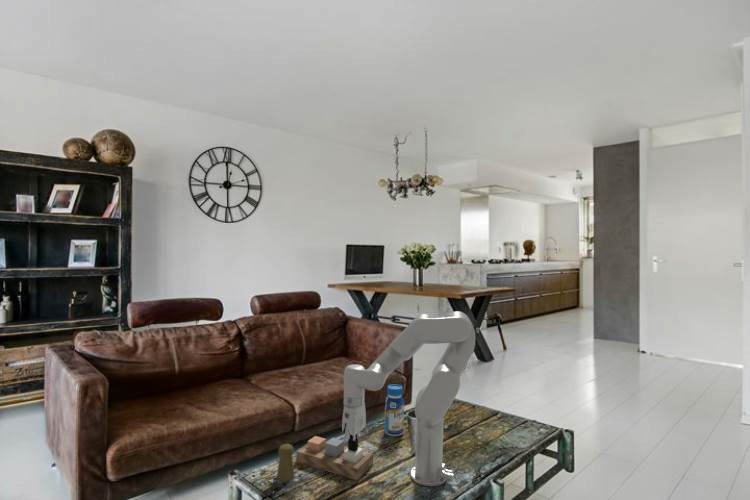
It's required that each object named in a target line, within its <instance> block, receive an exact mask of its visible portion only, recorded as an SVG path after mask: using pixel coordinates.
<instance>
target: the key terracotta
mask: <svg viewBox="0 0 750 500" xmlns="http://www.w3.org/2000/svg"><path fill="white" fill-rule="evenodd" d="M326 441H327V439H326V437H325V438H324V437H320V436H317V435H314V436H313V437H312V438H310V439H308V440H307V443H308V450H311V451H315V452H318V453H319V452H321V451H322V450H323V449H324V448H325V443H326Z"/></svg>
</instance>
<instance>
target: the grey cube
mask: <svg viewBox="0 0 750 500" xmlns="http://www.w3.org/2000/svg"><path fill="white" fill-rule="evenodd" d="M344 446H345V439H344V440H343V439H341V438H336V437H331V438H330V439H329V440H328V442H326V443H325V455H328V456H332V457H335V458H338V457H339V456H340V455H341V454H343V453H344Z"/></svg>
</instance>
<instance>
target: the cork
mask: <svg viewBox="0 0 750 500" xmlns="http://www.w3.org/2000/svg"><path fill="white" fill-rule="evenodd" d="M277 452H278V456H279V460H278V469H277V475H276V479H277V480H278V481H279V482H281V483H282V482H283V483H287V482H291V481H292V480H294V478H295V471H294V470H295V469H294V461H293V454H294V446H293V445H292V444H289V443H284V444H281V445H280V446H279V448H278V451H277Z"/></svg>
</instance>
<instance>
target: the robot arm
mask: <svg viewBox="0 0 750 500" xmlns="http://www.w3.org/2000/svg"><path fill="white" fill-rule="evenodd" d="M425 344H426V345H429V344H430V345H431V344H432V345H433V344H434V345H436V344H447V347H446V348H445V351H444V353H443V354H442V356H441V358H440V359H439V361H438V362H437V364H436V365H435V367H434V368H433V370H432V373H431V378H430V380H429V382H428V384H427V386H424V387H422V388H421V389H420V390H419V391H418V392H417V395H416V399H415V404H414V414H415V419H416V420H415V456H414V457H415V463H414V465H415V466H414V467H413V468H411V470H410V478H411V479H412V481H414V482H415V483H417V484H419V485H422V486H426V487H436V486H441V485H443V484H444V483H445V482H446V481H447V480H451V481H454V479H455V478H454V477H455V473H453V470H451V469H447V468H446V463H443V456H444V455H443V453H444V452H443V451H444V449H443V447H444V416H445V415H446V414H447V412H448V411H449V408H450V407H451V405H452V404H453V402H454V401H455V399H456V397H457V395H458V393H459V392H460V387H461V386H460V385H461V375H462V374H463V372H464V370H465V369H466V367H467V366H468V365H467V364H468V363H469V361H470V359H471V357H472V355H473V354H474V350H475V347H476V331H475V328H474V324H473V323H472V321H471V319H470V318H469V316H468V315H467V314H466V313H464V312H462V311H460V310H459V311H458V310H456V311H452V312H451V313H449V315H447V317H432V316H431V315H430V314H428V313H427V314H426V313H421V314H419V315H418V314H417V316H416V317H414V318H413V320H412V321H411V322H410V323H409V324H408V325H407V326H406V327H405V328H404V329H403V330H402V331H401V332H400V333H399V334H398V335H397V336H396V338H394V340H393V341H392V342H390V344H389V345H388V346H387V347H386V349H384V351H383V352H382V353H381V354H380V355H379V356H378V357H377V358H376V359H375V360H374V361H373V362H372V363H371V365H370V366H368V368H367V369H366V368H365V366H363V365H360V364H349V365H346V366H345V368H344V371H343V372H344V374H343V375H344V376H343V377H344V378H343V411H342V420H341V421H342V422H341V428H342V434H344V440H347V447H348V450H351V451H354V452H355V451H356V450H358V447H359V437H360V432H361V431H362V430H363V429H365V428H366V423H367V416H366V415H367V414H366V413H367V412H366V403H365V394H366V393H365V391H366V390H368V391H372V392H377V391H380V390H381V389H382V388H383V386H384V385H385V383H386V380H387V378H388V377H389V375H391V373H393V372H394V371H395V370H396V369H397V368H398V367H399V366H400V365H401V364H402V363H403V362H405V361H409V360H410V359H411V358H412V357H413V356H414V355H415V354H416V353H417V352H418V351H419V350H420V349H421V348H422V347H423V346H424V345H425Z"/></svg>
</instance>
